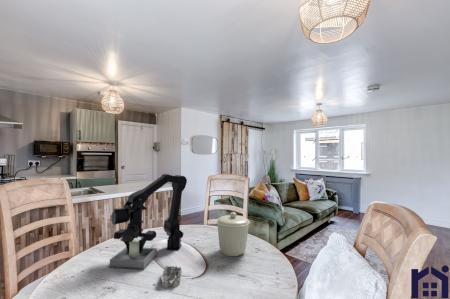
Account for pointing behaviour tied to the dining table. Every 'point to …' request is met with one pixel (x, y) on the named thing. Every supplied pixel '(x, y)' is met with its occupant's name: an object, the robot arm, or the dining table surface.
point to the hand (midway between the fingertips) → (134, 252)
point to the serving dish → (137, 263)
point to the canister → (232, 234)
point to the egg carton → (171, 276)
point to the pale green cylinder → (134, 249)
